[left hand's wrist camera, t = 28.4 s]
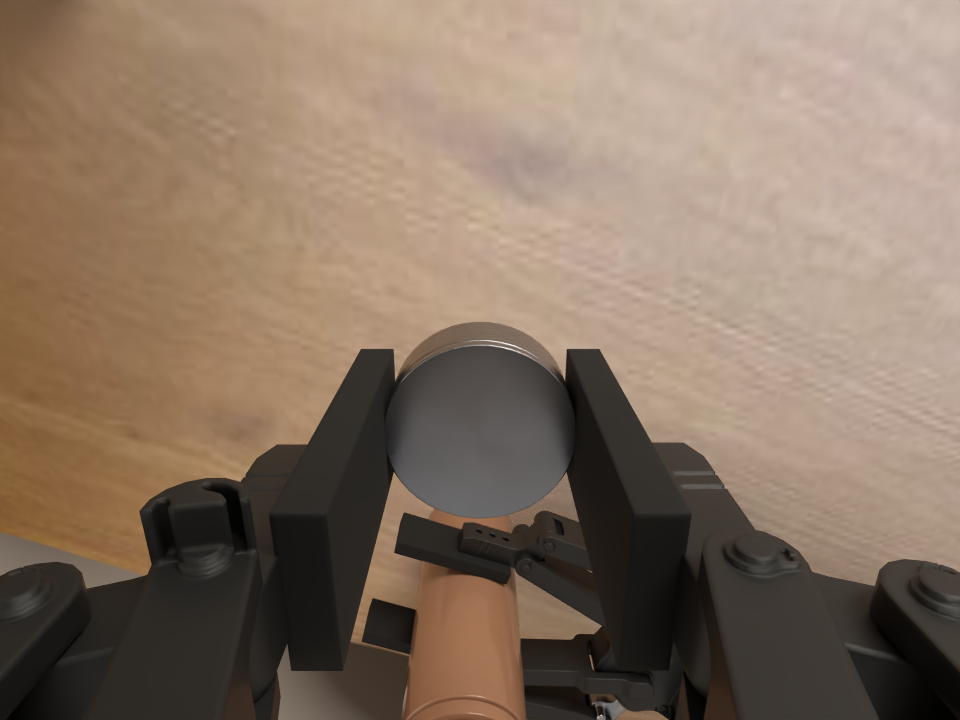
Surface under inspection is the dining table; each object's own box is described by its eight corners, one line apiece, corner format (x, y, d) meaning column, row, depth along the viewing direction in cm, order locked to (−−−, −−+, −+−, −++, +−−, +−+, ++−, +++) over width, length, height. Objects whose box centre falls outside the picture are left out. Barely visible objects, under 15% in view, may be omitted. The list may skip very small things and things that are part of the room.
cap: (578, 328, 14) (590, 352, 12) (556, 485, 15) (564, 525, 13) (395, 314, 13) (385, 337, 12) (390, 474, 15) (380, 512, 13)
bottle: (521, 552, 42) (559, 909, 23) (443, 574, 43) (413, 939, 23) (496, 484, 40) (512, 811, 21) (413, 508, 41) (355, 847, 21)
